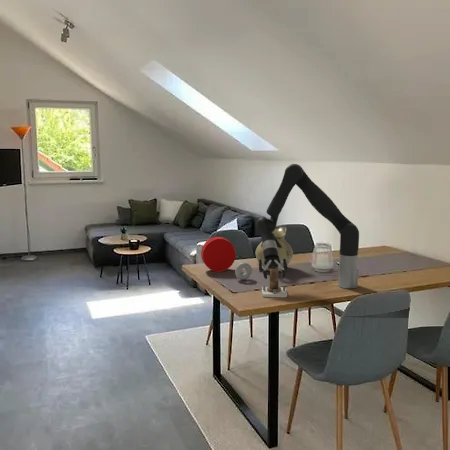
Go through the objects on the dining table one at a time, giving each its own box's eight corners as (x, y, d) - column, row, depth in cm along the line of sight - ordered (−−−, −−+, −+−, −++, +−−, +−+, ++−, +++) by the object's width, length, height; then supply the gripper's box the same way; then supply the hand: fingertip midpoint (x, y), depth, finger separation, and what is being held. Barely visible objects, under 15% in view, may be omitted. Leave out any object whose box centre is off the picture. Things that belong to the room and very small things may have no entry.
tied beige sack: (283, 263, 297) (283, 224, 293) (300, 272, 275) (300, 230, 271) (250, 266, 290) (249, 226, 286) (264, 276, 268) (264, 233, 264)
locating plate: (285, 290, 241) (285, 283, 240) (286, 297, 229) (287, 290, 229) (262, 289, 242) (262, 283, 241) (262, 296, 230) (262, 290, 229)
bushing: (280, 288, 238) (280, 267, 237) (281, 292, 232) (281, 271, 230) (266, 288, 239) (266, 267, 237) (267, 292, 232) (267, 270, 230)
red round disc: (233, 268, 286) (233, 235, 283) (235, 270, 280) (235, 237, 277) (201, 270, 282) (200, 237, 278) (202, 272, 276) (202, 239, 273)
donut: (250, 278, 264) (250, 260, 262) (253, 279, 260) (253, 262, 259) (234, 280, 260) (233, 262, 258) (236, 281, 257) (236, 264, 255)
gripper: (257, 247, 238) (261, 275, 229) (285, 246, 240) (290, 273, 230) (255, 255, 244) (259, 282, 235) (282, 254, 246) (287, 281, 237)
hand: (274, 278), depth 233 cm, fingers open, 8 cm apart
